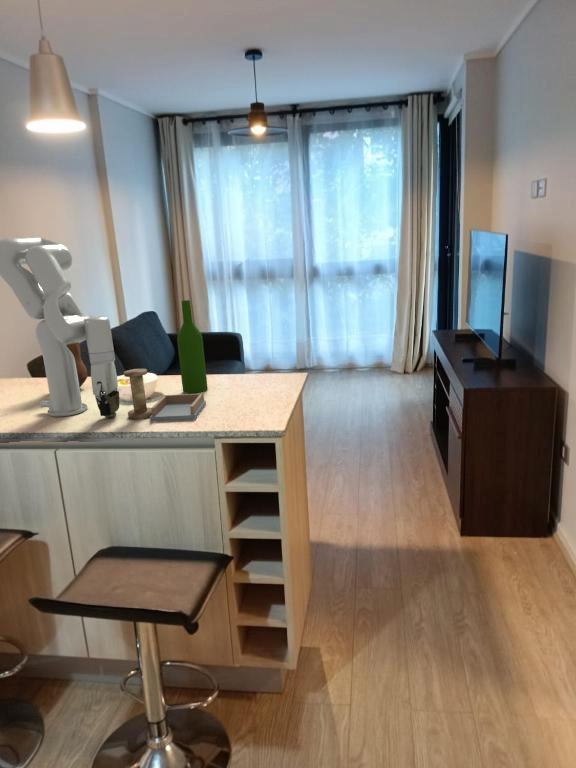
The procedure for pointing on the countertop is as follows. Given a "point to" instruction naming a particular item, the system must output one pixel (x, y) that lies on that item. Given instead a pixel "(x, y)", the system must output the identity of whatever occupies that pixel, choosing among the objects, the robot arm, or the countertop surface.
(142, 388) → the bobbin post
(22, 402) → the countertop surface
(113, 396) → the cup
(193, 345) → the wine bottle
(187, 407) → the wooden tray
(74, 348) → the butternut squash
